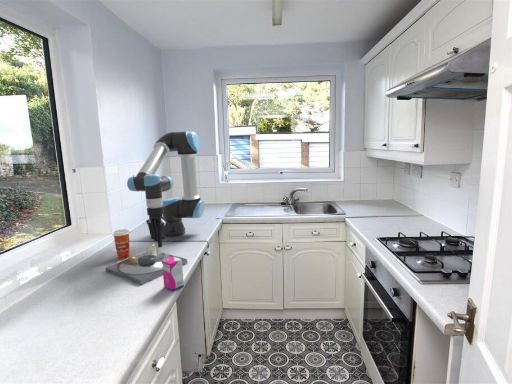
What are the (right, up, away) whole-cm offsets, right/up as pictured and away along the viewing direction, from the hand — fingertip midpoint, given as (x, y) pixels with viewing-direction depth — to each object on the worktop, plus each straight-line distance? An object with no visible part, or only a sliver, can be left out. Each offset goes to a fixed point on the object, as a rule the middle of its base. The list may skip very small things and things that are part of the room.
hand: (159, 253), depth 146 cm
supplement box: (+15, -8, -26) cm, 31 cm away
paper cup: (-21, -4, +7) cm, 22 cm away
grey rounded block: (-3, -2, -4) cm, 5 cm away
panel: (-3, -5, -7) cm, 9 cm away
